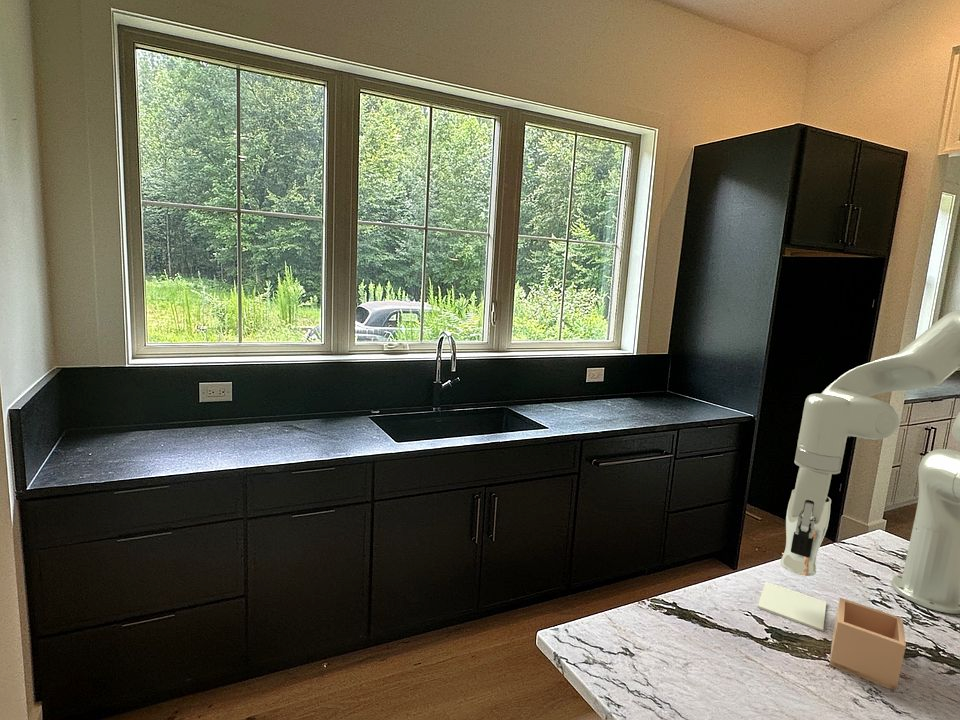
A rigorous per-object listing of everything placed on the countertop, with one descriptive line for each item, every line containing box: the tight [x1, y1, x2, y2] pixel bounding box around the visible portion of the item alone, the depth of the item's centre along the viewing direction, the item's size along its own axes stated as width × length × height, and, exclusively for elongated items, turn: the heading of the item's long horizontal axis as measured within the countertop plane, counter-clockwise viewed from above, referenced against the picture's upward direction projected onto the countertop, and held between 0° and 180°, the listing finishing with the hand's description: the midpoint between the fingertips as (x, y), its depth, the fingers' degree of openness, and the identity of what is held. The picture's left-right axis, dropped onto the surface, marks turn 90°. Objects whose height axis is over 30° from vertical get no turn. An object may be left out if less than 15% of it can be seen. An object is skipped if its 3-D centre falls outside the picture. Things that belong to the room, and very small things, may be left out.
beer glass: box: [780, 488, 832, 577], centre depth 106 cm, size 7×7×15 cm
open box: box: [829, 597, 907, 692], centre depth 92 cm, size 9×9×8 cm
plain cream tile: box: [756, 581, 827, 632], centre depth 108 cm, size 11×11×1 cm
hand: (801, 546), depth 106 cm, fingers closed on beer glass, 6 cm apart
